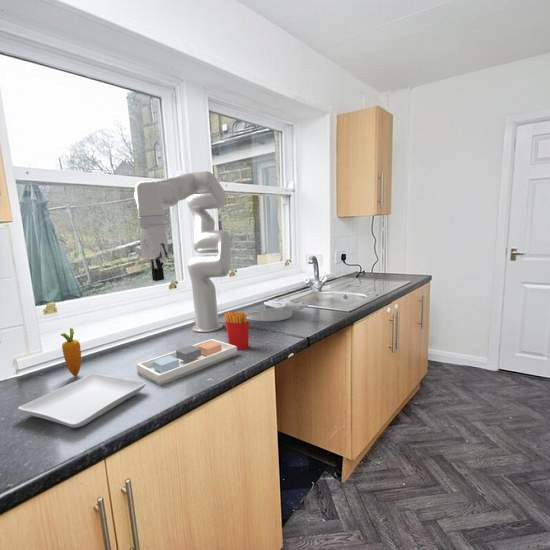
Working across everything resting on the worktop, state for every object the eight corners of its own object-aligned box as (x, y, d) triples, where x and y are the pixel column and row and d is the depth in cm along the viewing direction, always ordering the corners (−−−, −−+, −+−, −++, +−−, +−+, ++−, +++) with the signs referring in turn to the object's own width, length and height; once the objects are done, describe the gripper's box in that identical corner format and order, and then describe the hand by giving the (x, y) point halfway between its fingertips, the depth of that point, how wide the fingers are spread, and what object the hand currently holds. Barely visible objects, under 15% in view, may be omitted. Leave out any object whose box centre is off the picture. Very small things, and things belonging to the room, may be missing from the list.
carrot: (71, 381, 104) (64, 332, 102) (63, 378, 106) (55, 331, 104) (88, 374, 108) (81, 328, 106) (79, 372, 110) (72, 326, 108)
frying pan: (277, 308, 178) (276, 290, 176) (326, 319, 152) (325, 298, 151) (240, 318, 163) (239, 299, 162) (287, 332, 138) (286, 309, 137)
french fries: (252, 346, 123) (249, 311, 121) (245, 350, 119) (242, 314, 118) (231, 343, 128) (228, 309, 126) (224, 347, 124) (221, 312, 122)
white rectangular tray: (137, 373, 106) (136, 364, 106) (212, 346, 126) (211, 338, 125) (159, 385, 96) (158, 375, 96) (237, 354, 116) (236, 346, 116)
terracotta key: (198, 352, 117) (197, 346, 116) (211, 347, 121) (211, 341, 120) (207, 356, 113) (207, 349, 112) (221, 351, 117) (221, 344, 116)
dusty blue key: (153, 368, 105) (152, 361, 105) (170, 362, 109) (169, 355, 109) (162, 373, 101) (161, 365, 101) (179, 367, 105) (178, 359, 105)
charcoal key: (176, 357, 111) (175, 350, 110) (191, 352, 115) (191, 345, 114) (186, 361, 107) (185, 354, 107) (201, 356, 111) (200, 348, 111)
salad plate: (149, 393, 93) (148, 380, 93) (77, 438, 74) (74, 423, 74) (94, 383, 102) (93, 372, 102) (17, 421, 83) (14, 408, 83)
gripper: (129, 224, 111) (136, 280, 114) (151, 221, 101) (159, 283, 103) (152, 223, 116) (158, 277, 119) (175, 220, 106) (181, 279, 109)
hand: (158, 280), depth 111 cm, fingers closed
